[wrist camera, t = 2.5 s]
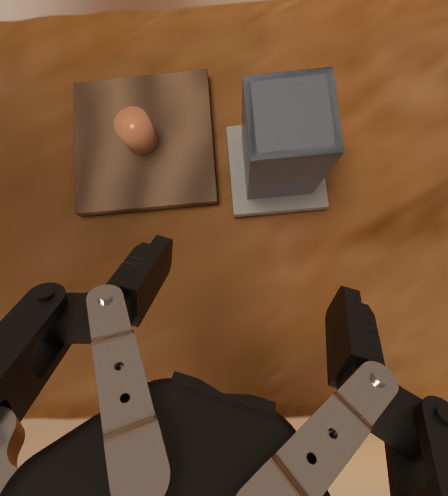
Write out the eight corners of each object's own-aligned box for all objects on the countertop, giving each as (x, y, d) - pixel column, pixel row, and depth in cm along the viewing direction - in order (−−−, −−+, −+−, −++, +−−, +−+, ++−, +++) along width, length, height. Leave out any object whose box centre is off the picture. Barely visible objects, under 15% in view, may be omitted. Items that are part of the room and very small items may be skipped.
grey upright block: (247, 199, 29) (250, 161, 20) (241, 138, 30) (242, 76, 21) (312, 193, 29) (344, 152, 20) (304, 132, 30) (332, 66, 21)
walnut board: (80, 216, 31) (75, 213, 30) (78, 89, 33) (73, 83, 32) (217, 203, 30) (217, 201, 29) (208, 75, 32) (207, 68, 31)
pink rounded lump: (127, 156, 30) (114, 141, 27) (126, 126, 31) (113, 108, 28) (159, 153, 30) (149, 137, 27) (157, 123, 31) (147, 104, 28)
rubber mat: (233, 217, 30) (233, 214, 29) (226, 131, 31) (226, 126, 30) (325, 209, 30) (328, 206, 29) (315, 123, 31) (317, 117, 30)
